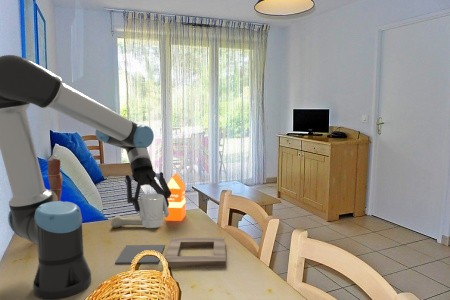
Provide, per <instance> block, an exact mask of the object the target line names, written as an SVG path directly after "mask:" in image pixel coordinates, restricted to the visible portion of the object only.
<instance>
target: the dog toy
mask: <svg viewBox="0 0 450 300" xmlns="http://www.w3.org/2000/svg"><path fill="white" fill-rule="evenodd" d="M110 226H111V228H119V227H123V226H140V227H141V226H142V227H143V225H142V221H141V219H140V218H126V217H124V216H123V217H122V216H121V215H120V214H116V215H115V216H114V217H113V218H112V219H111V223H110ZM158 228H159V227H156V228H155V229H158Z"/></svg>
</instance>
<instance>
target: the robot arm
mask: <svg viewBox="0 0 450 300" xmlns="http://www.w3.org/2000/svg"><path fill="white" fill-rule="evenodd" d="M31 104H32V105H35V106H37V107H39V108H41V109H46V108H50V109H53V110H55V111H56V112H58V113H61V114H63V115H65V116H67V117H69V118H71V119H73V120H75V121H78V122H80V123H82V124H84V125H86V126H88V127H91V128H92V129H95V137H96V139H97V140H98V141H100V142H103V143H104V144H108V145H112V146H114V147H117V148H118V147H119V148H120V149H124V150H126V155H127V157H128V162H129V166H130V169H131V173H132V175H128V174H126V175H125V177H124V182H125V184H126V200H127V204H132V206H134V210H135V212H136V213H138V215H139V219H141V221H144V218H145V216H144V212H143V208H142V204H141V200H140V199H139V198H140V193H141V187H142V186H149V187H150V188H152V189H153V190H154V191H155V192H156V194H161V195H163V196H164V203H163V215H164V219H165V218H166V217H168V215H169V210H168V206H169V202H168V199H167V198H170V196H171V191H170V189H169V187H168V185H167V184H168V182H166V180H165V178H164V172H161V171H160V172H159V173H158V172H157V173H156V171H154V167H153V164H152V161H151V157H150V154H149V153H150V152H149V150H148V147H150V146H151V145H152V144H153V141H154V136H155V134H154V132H153V131H154V130H153V128H151V127H150V126H148V125H144V124H138V123H136V122H134V121H132V120H130V119H128V118H127V117H125V116H123V115H121V114H119V113H118V112H116V111H114V110H112V109H110V108H109V107H106V106H105V105H103V104H102V103H99V102H98V101H96V100H95V99H92V98H91V97H89V96H87V95H85V94H84V93H82V92H80V91H78V90H76V89H74V88H73V87H71V86H69V85H67V84H66V83H63V80H62V78H61V77H60V76H59V75H57V74H55V73H53V72H52V71H50V70H48V69H46V68H45V67H43V66H41V65H39V64H37V63H35V62H34V61H32V60H30V59H27V58H25V57H23V56H19V55H15V54H6V55H5V54H4V55H0V154H1V156H2V161H3V164H4V168H5V171H6V176H7V179H8V182H9V183H8V184H9V186H10V189H11V194H12V197H11V198H10V200H9V201H8V207H9V209H10V211H8V217H7V220H8V222H7V223H8V225H9V228H10V229H11V230H12V232H13V233H15V234H16V235H17V236H18V237H20V238H22V239H25V240H27V241H29V242H32V243H34V244H36V245H37V257H38V266H37V269H36V272H35V275H34V280H33V283H32V288H33V294H34V295H35V296H36V297H38V298H41V299H45V300H54V299H55V300H56V299H62V298H63V299H64V298H68V297H70V296H74V295H77V294H79V293H80V292H82V291H84V290H85V289H87V288H88V287H90V285H91V282H92V270H91V269H90V267H89V264H88V262H87V260H86V257H85V255H84V239H83V217H82V211H81V208H80V207H79V206H78V205H77V204H76V203H74V202H70V201H62V200H60V201H54V199H53V195H52V192H51V191H49V190H50V189H47V188H46V186H45V182H44V179H43V174H42V171H41V166H40V163H39V159H38V158H39V157H38V155H37V154H38V153H37V150H36V146H35V142H34V138H33V134H32V130H31V126H30V121H29V117H28V113H27V111H28V109H29V108H30V106H31ZM155 178H156V179H157V180H156V179H155ZM133 181H134V182H135V183H136V188H135V193H134V197H133V189H132V187H133V186H132V182H133ZM157 181H158V182H159V183H158V182H157Z"/></svg>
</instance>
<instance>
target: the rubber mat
mask: <svg viewBox="0 0 450 300" xmlns="http://www.w3.org/2000/svg"><path fill="white" fill-rule="evenodd" d="M164 249H165V244H127V245H125V247H124V248H123V249H122V251H121V252H120V254H119V256H118V257H117V258H116V260H115V262H114V265H132V264H131V262H132V260H133V259H134V257H135V256H136V255H137V254H138V253H140V252H142V251H144V250H155V251H158V252H160V253H161V254H162V255H163V253H164V252H163V251H164ZM139 263H140V264H141V265H143V264H144V265H151V264H159V263H160V260H159V259H158V258H156V257H154V256H145V257H143V258H142V259H141V260H140V261H139Z"/></svg>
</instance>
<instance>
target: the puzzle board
mask: <svg viewBox="0 0 450 300" xmlns="http://www.w3.org/2000/svg"><path fill="white" fill-rule="evenodd" d="M225 238H226V237H224V236H223V237H222V236H221V237H219V236H217V237H212V236H210V237H171V238H170V240H169V242H168V243H169V244H168V246H167V249H166V251H165V254H164V257H165V258H166V259H167V261H168V263H169V267H170V268H172V269H173V268H175V269H176V268H226V267H227V257H226V255H227V253H226V239H225ZM181 248H213V255H180V253H181ZM170 268H169V269H170Z"/></svg>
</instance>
